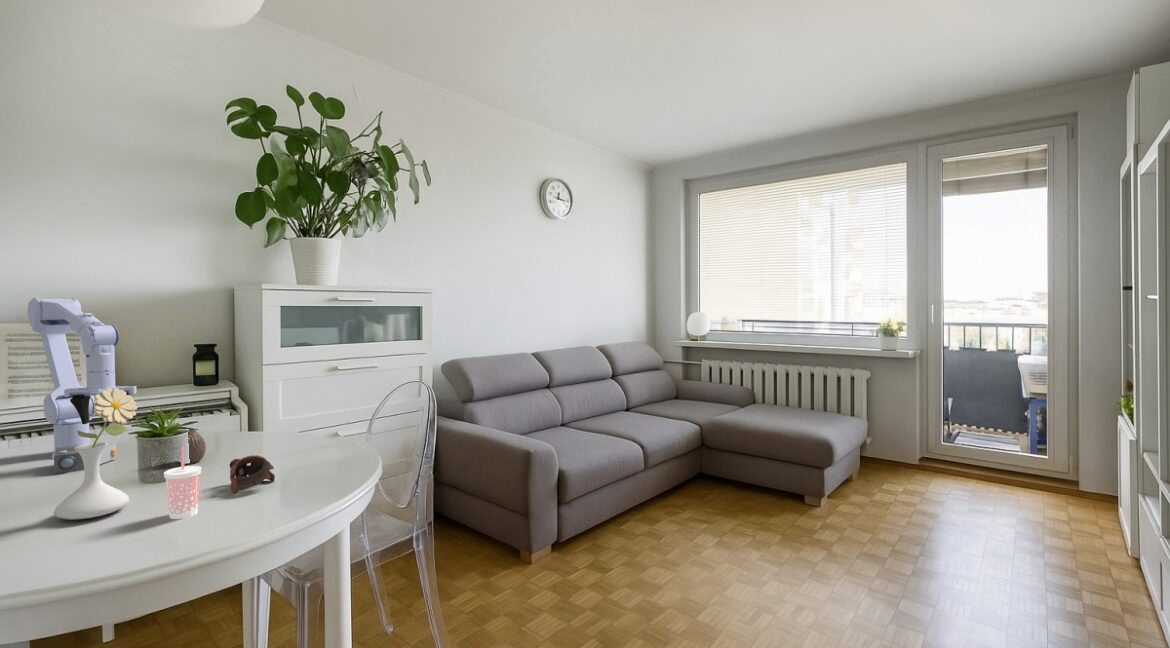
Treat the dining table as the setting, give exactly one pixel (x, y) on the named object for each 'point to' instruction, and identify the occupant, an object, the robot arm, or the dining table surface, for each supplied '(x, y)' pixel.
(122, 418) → the flower in vase
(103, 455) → the side door
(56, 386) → the robot arm
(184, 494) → the beverage cup
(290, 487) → the dining table surface
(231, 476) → the brown curved piece
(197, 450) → the brown ribbed ovoid
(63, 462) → the camera body
